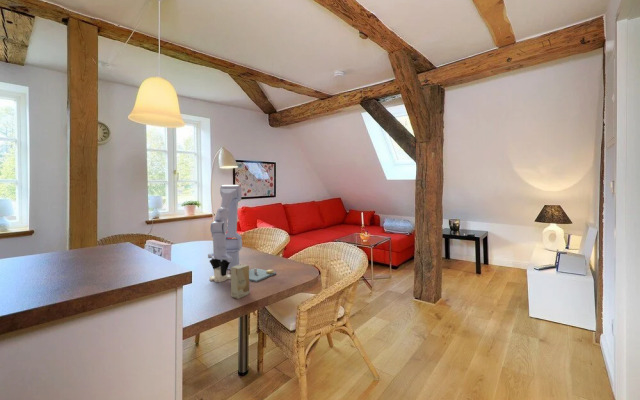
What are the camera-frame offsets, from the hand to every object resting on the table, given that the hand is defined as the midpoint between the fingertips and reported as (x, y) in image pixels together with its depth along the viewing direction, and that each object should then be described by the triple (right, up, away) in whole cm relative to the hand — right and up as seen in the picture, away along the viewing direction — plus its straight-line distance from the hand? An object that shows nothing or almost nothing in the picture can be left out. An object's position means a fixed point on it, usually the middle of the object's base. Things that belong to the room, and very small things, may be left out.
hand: (220, 274), depth 144 cm
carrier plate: (+16, -2, +5) cm, 16 cm away
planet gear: (0, -2, 0) cm, 2 cm away
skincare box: (+15, -4, -20) cm, 25 cm away
